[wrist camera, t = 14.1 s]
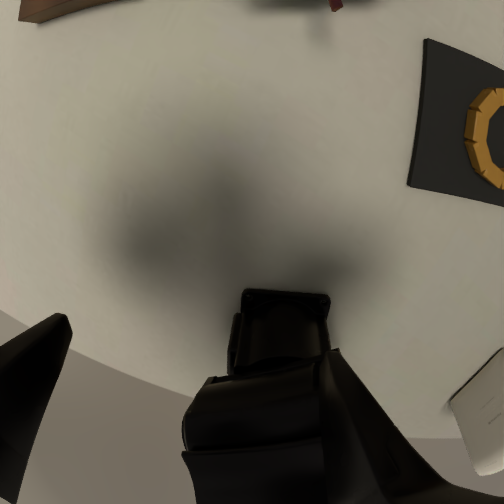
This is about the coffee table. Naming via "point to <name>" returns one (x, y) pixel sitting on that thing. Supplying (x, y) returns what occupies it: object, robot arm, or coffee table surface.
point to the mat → (454, 124)
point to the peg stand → (52, 8)
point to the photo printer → (483, 417)
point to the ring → (483, 134)
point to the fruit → (335, 5)
